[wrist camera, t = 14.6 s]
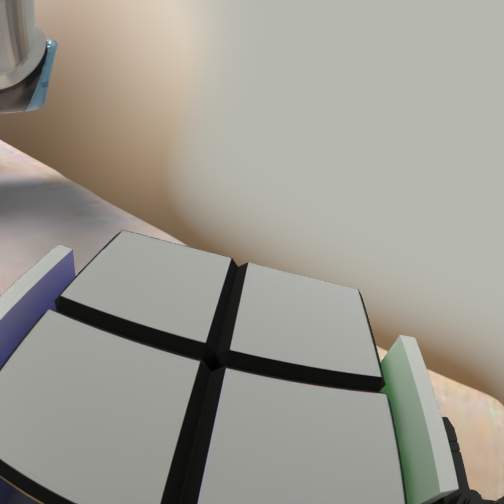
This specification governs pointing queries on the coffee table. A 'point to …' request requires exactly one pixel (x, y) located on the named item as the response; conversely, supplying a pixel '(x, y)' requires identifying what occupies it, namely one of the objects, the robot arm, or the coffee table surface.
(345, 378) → the puzzle cube
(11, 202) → the coffee table surface
